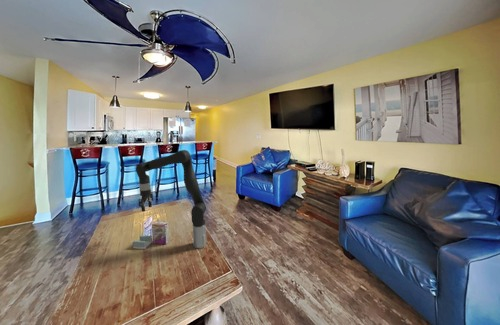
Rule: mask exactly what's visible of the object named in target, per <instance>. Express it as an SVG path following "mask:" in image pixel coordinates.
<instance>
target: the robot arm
mask: <svg viewBox="0 0 500 325" xmlns="http://www.w3.org/2000/svg"><path fill="white" fill-rule="evenodd" d="M174 164H181V165H182V168H183V183H184V186H185V189H186V191H187V192H188V194H189V195H190V196H191V198H192V200H193V204H194V206H193V207H192V208H191V212H190V213H191V215H190V216H191V223H192V235H193V236H192V244H193V246H192V247H193V248H195V249H202V248H203V249H204V248H206V247H205V246H206V245H207V232H206V219H205V216H204V215H205V213H206V211H207V206H206V204H205V201H204V198H203V196H202V193H201V190H200V186H199V182H198V179H197V175H196V173H195V170H194V166H193V162H192V158H191V153H190V152H189V151H188V150H186V149H183V150H178V151H176V152H174V153H172V154H170V155H168V156H164V157H158V158H156V159H151V160H149V161H145V162H141V163H138V164H136V166H135V172H136V174H137V177H138V181H139V182H138V184H139V185H138V186H139V187H138V188H139V196H141V198H138V207H140V208H141V212H146V207H145V206H146V204H147V202H148V204H147V205H148V208H152V206H153V205H152V203H153V201H154V195H153V193H152V186H151V179H150V175H148V174H147V173H146V172H148V171H149V172H150V171H152V170H157V169H160V168H164V167H167V166H170V165H174Z"/></svg>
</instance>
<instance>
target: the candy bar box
mask: <svg viewBox="0 0 500 325" xmlns="http://www.w3.org/2000/svg"><path fill="white" fill-rule="evenodd" d="M169 229H170V228H169V222H165V221H154V222H153V223H152V224H151V231H152V232H151V234H152V235H151V236H152V244H153V245H155V244H156V245H165V246H166V245H167V244H168V243H170V230H169Z"/></svg>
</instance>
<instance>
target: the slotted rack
mask: <svg viewBox="0 0 500 325" xmlns="http://www.w3.org/2000/svg"><path fill="white" fill-rule="evenodd" d="M151 244H153V236H152V235H143V234H140V235H139V240H133V241H132V249H138V250H140V249H141V250H146V248H148V247H149V246H150V245H151Z"/></svg>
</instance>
